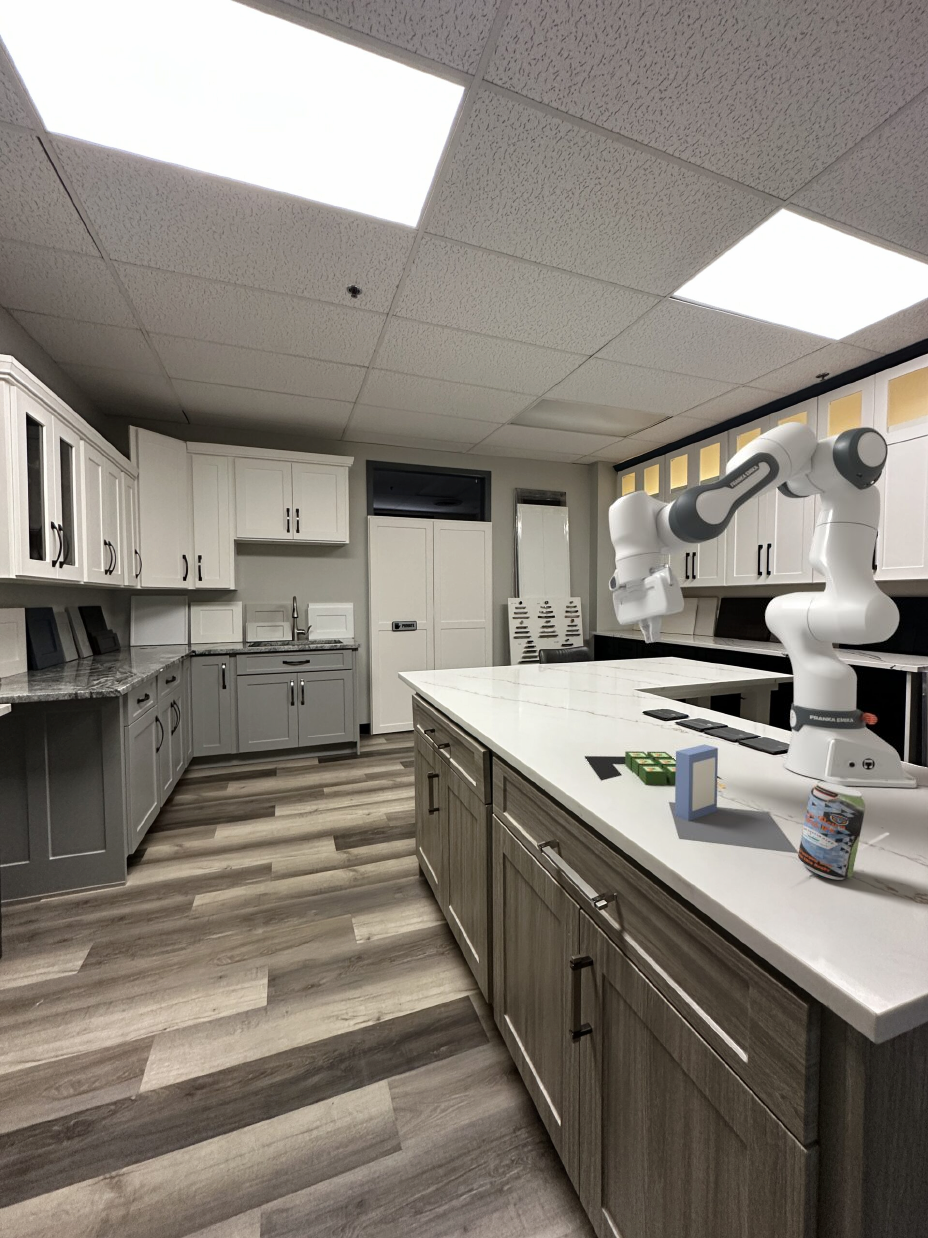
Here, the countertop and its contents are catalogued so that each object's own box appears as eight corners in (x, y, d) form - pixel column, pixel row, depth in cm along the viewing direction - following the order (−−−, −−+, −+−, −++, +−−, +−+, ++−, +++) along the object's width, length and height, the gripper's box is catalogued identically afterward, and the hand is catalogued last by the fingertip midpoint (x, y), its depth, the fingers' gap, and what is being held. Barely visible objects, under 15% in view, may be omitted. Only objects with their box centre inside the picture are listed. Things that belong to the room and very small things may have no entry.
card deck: (675, 815, 86) (675, 751, 86) (703, 805, 90) (704, 744, 90) (689, 821, 84) (690, 755, 84) (717, 811, 88) (718, 748, 88)
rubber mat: (768, 814, 88) (768, 812, 88) (798, 855, 73) (798, 853, 73) (668, 804, 92) (668, 802, 92) (678, 841, 78) (679, 838, 78)
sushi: (747, 801, 95) (747, 782, 95) (612, 800, 96) (612, 780, 96) (691, 760, 120) (691, 745, 120) (584, 759, 121) (584, 744, 121)
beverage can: (787, 862, 71) (789, 778, 71) (836, 860, 72) (838, 776, 72) (822, 887, 65) (824, 794, 65) (875, 885, 66) (878, 793, 65)
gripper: (685, 558, 91) (699, 634, 90) (632, 581, 111) (643, 644, 110) (652, 562, 90) (666, 639, 89) (604, 584, 110) (615, 648, 109)
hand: (653, 642), depth 99 cm, fingers closed
